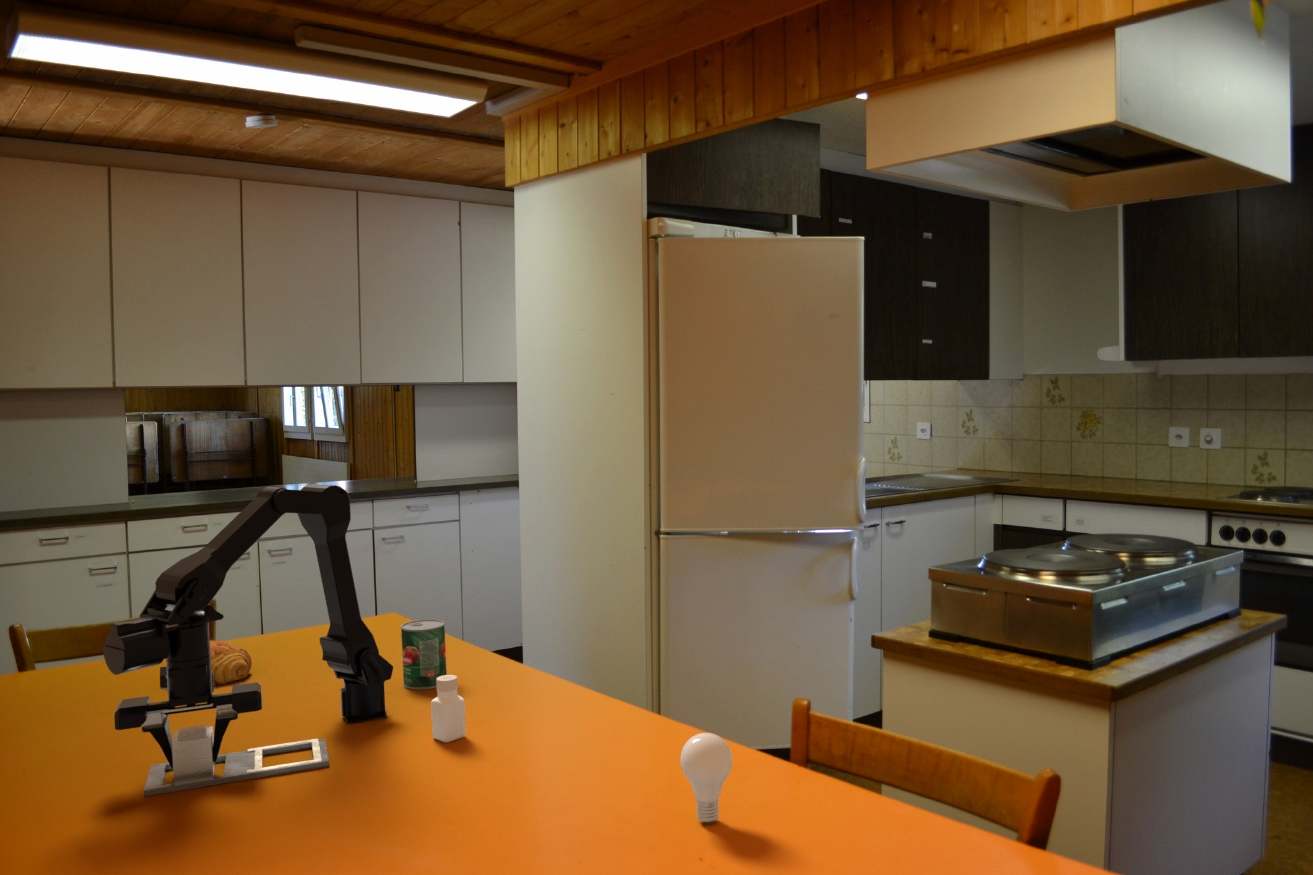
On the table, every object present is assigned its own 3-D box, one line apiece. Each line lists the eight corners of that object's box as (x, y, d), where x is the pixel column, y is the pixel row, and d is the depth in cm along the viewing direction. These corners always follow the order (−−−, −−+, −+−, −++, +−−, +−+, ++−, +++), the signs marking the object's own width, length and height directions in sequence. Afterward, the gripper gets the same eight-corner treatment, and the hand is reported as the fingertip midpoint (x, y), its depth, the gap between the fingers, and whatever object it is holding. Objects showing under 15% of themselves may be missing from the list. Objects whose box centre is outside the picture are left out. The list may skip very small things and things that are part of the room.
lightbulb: (679, 812, 124) (677, 726, 124) (729, 809, 125) (727, 723, 124) (685, 835, 118) (682, 745, 117) (737, 831, 118) (735, 741, 118)
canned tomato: (456, 680, 184) (453, 621, 183) (425, 691, 177) (422, 631, 176) (425, 674, 188) (423, 617, 187) (394, 685, 181) (391, 626, 181)
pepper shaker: (467, 737, 153) (465, 676, 153) (446, 744, 150) (443, 683, 150) (452, 731, 156) (449, 672, 156) (430, 738, 153) (428, 678, 153)
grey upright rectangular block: (214, 766, 144) (212, 722, 144) (213, 778, 140) (210, 732, 139) (176, 772, 142) (174, 727, 142) (174, 784, 138) (171, 738, 137)
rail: (325, 743, 152) (324, 737, 152) (329, 766, 143) (328, 759, 143) (151, 770, 143) (151, 763, 143) (143, 796, 134) (143, 788, 134)
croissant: (222, 674, 200) (218, 635, 200) (265, 675, 191) (261, 634, 191) (151, 691, 188) (146, 649, 189) (193, 693, 179) (189, 649, 179)
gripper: (259, 635, 151) (264, 735, 152) (121, 651, 144) (127, 755, 145) (259, 653, 141) (264, 760, 141) (110, 670, 134) (117, 783, 135)
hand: (194, 764), depth 141 cm, fingers closed on grey upright rectangular block, 5 cm apart
